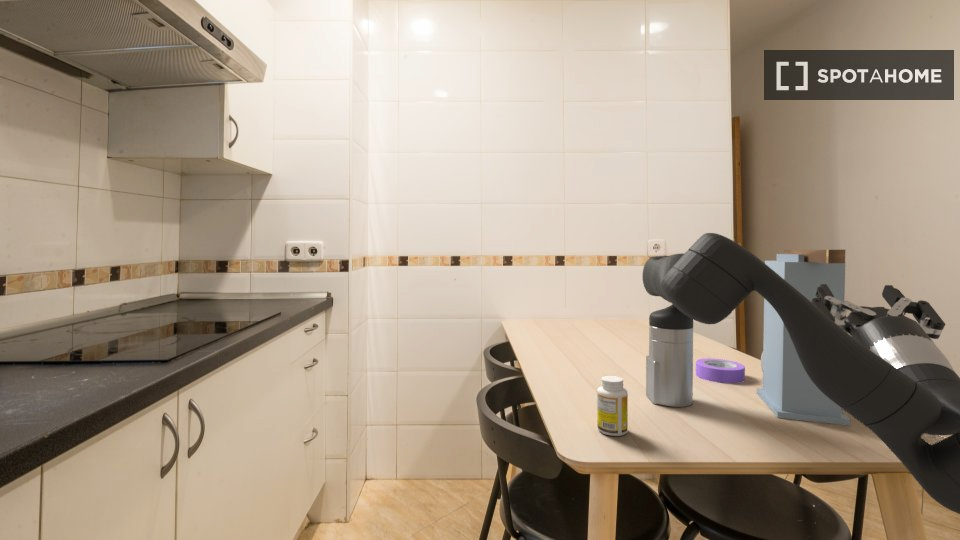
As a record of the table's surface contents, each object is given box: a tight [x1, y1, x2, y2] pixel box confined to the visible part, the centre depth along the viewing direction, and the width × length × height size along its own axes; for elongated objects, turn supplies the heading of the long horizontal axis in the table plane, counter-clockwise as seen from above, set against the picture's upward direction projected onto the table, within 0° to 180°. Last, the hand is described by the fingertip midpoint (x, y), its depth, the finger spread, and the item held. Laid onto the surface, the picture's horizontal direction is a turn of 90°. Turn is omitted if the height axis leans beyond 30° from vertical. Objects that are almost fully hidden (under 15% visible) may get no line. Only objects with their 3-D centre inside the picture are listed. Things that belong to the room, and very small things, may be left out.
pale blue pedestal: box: [756, 253, 851, 426], centre depth 92 cm, size 12×16×34 cm
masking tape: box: [695, 357, 746, 384], centre depth 116 cm, size 12×12×4 cm
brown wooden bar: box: [783, 249, 846, 264], centre depth 86 cm, size 2×24×2 cm, turn 160°
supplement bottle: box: [596, 375, 629, 437], centre depth 81 cm, size 6×6×10 cm
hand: (853, 288), depth 70 cm, fingers open, 8 cm apart
